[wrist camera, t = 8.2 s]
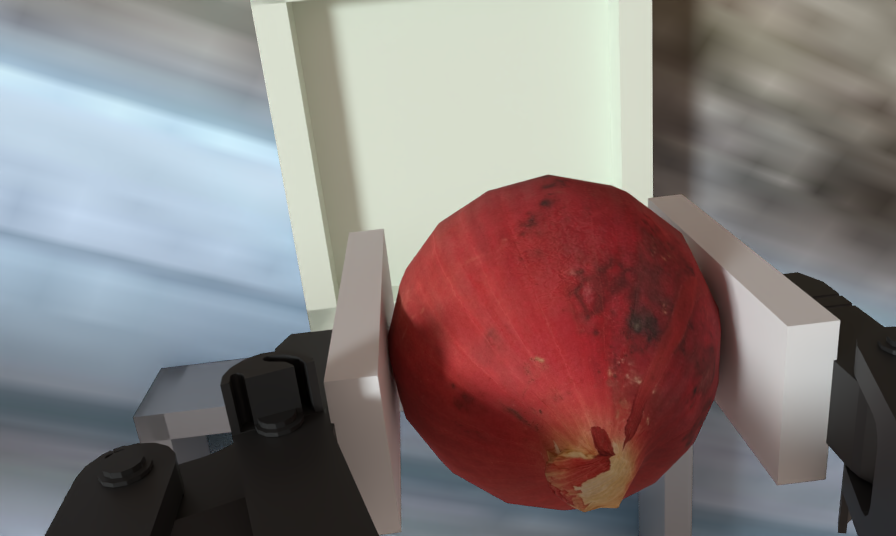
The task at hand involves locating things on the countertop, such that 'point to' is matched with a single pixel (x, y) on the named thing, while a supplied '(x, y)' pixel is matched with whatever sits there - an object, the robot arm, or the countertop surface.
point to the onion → (556, 344)
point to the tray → (444, 113)
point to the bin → (203, 410)
